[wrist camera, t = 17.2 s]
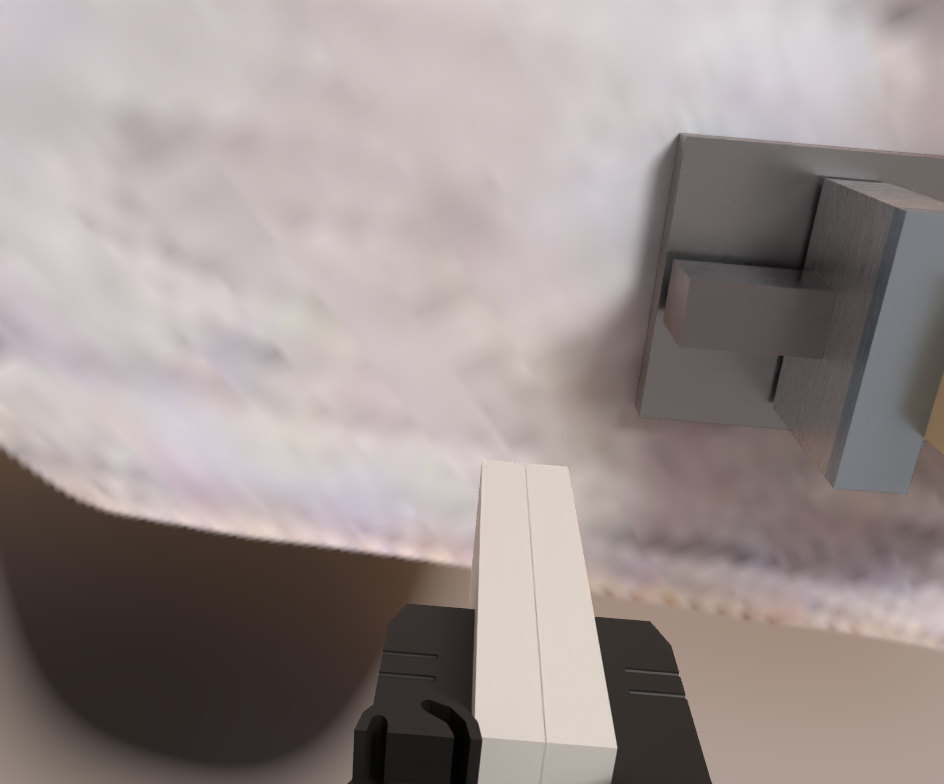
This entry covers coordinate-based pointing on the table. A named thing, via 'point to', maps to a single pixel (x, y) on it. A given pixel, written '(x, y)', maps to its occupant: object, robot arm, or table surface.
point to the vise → (747, 256)
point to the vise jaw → (838, 329)
